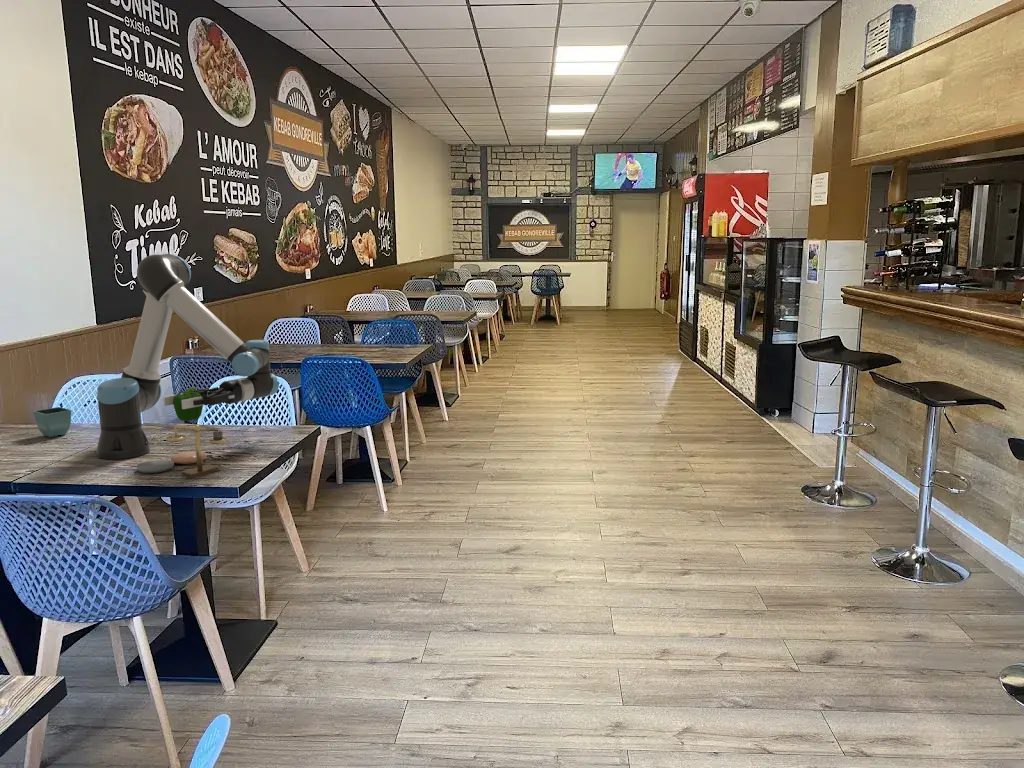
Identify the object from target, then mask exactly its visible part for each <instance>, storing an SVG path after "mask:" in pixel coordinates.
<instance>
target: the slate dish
mask: <svg viewBox="0 0 1024 768" xmlns="http://www.w3.org/2000/svg"><path fill="white" fill-rule="evenodd" d="M174 467H175V463H174V462H173V461H171V459H170V460H169V459H154V460H149V461H148V460H147V461H144V462H140V463H138V464H137V465H136V470H137V472H139V473H144V474H157V473H164V472H165V471H168V470H171V469H173V468H174Z"/></svg>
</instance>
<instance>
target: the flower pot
mask: <svg viewBox="0 0 1024 768" xmlns="http://www.w3.org/2000/svg"><path fill="white" fill-rule="evenodd" d="M33 416H34V421H35V425H36V426H37V429H38V430H39V431H40V433H41V434H42V435H43V436H45V437H49V438H54V436H55V437H59V436H58V435H61V436H64V435H63V434H65V435H66V434H67V433H68V431H69V429H70V427H71V424H72V409H69V408H65V407H59V406H57V407H51V408H45V409H39V410H33Z"/></svg>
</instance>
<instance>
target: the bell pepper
mask: <svg viewBox="0 0 1024 768" xmlns="http://www.w3.org/2000/svg"><path fill="white" fill-rule="evenodd" d="M192 390H195V391H196V390H197V387H195V386H194V387H190V388H187V390H186V391H187V393H184V394H179V393H177V394H174V395H175V397H174V399H173V409H174V411H175V414H176V416H177V418H178V419H179V420H180V421H183V422H187V421H188V422H191V421H193V420H198V419H200V418H201V416H202V412H203V407H204V404H203V405H202V406H198V407H193V408H188V409H182V401H181V400H185V399H190V398H195V397H202V396H201V395H200V393H192V394H190V391H192ZM202 399H203V398H202Z"/></svg>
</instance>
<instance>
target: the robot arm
mask: <svg viewBox="0 0 1024 768" xmlns="http://www.w3.org/2000/svg"><path fill="white" fill-rule="evenodd" d="M136 276H137V280H138V282H139V284H140V286H141V287H142V292H143V293H144V295H145V301H144V306H143V308H142V314H141V318H140V321H139V325H138V329H137V334H136V338H135V342H134V346H133V349H132V350H133V351H132V355H131V358H130V362H129V365H127V366H126V367H124V368H123V369H122V374H121V377H118V378H112V379H108V380H105V381H102V382H100V384H98V386H97V389H96V390H97V392H96V399H97V405H98V414H99V423H100V434H99V438H98V442H97V446H96V457H97V458H100V459H103V460H123V459H124V460H125V459H130V458H131V459H132V458H135V457H140V456H144V455H146V454H148V453H150V451H151V446H150V445H151V444H150V442H149V440H148V438H147V435H146V433H145V431H144V430H143V429H144V428H143V424H142V413H143V412H146V411H147V410H150V409H152V408H153V407H154V406H155V405H156V404H157V403H158V402H159V400H160V398H161V396H162V387H161V384H160V383H161V379H162V375H161V374H160V373H159V371H158V370H159V367H160V363H161V359H162V356H163V355H162V354H163V351H164V347H165V343H166V339H167V335H168V332H169V327H170V323H171V319H172V315H173V312H174V313H175V314H176V315H177V316H178V317H180V318H181V319H182V320H183V321H184V322H185V323H186V324H187V325H188V326H190V327H191V328H192V329H193V330H194V331H195V332H196V333H197V334H198V335H199V336H200V337H202V339H203V340H205V341H206V343H208V344H209V345H210V346H211V347H212V348H213V349H215V350H216V352H218V353H219V355H221V356H222V357H223V358H224V359H225V360H226V361H228V363H230V365H231V368H232V370H233V372H234V373H235V374H236V375H238V376H240V377H242V378H240V377H239V378H235V379H230V380H226V381H225V380H224V381H222V382H221V383H220V385H219V387H212V388H209V387H205V388H200V389H196V391H195V390H192V391H190V394H192V393H200V395H201V396H202V397H195V398H190V399H185V400H181V401H182V409H188V408H193V407H198V406H202V405H203V406H209V407H211V406H216V405H219V404H223V403H225V404H227V405H230V404H231V405H232V404H237V403H240V402H242V403H246V401H251V400H254V399H259V398H260V399H261V398H266V397H269V396H273V395H274V394H276V393H277V392H278V390H279V386H280V383H279V381H278V377H277V376H276V375H275V374H273V373H271V357H270V351H271V350H270V344H269V341H268V340H265V339H251V340H247V341H246V342H244V341H243V340H242V339H241V338H240V337H239V336H237V334H235V333H234V332H233V331H232V330H231V329H230V328H229V327H228V326H227V325H226V324H225V323H223V322H222V321H221V320H220V319H219V317H217V316H216V315H215V314H214V313H213V312H211V310H209V309H208V308H207V307H206V306H205V305H204V304H203V303H202V302H201V301H200V300H199V299H198V298H197V297H195V295H194V294H192V293H191V292H190V291H189V290H188V289H187V288H186V287H187V286H188V284H189V283H190V281H191V278H192V270H191V267H190V266H189V264H188V263H187V261H186V260H185V259H183V258H182V257H180V256H178V255H174V254H170V253H163V254H150V255H148V256H145V257H144V258H143V259H141V260H140V261H139V264H137V268H136ZM184 393H187V390H185V391H179V392H178V394H184ZM175 395H176V394H172V395H167V396H162V397H163V399H162V401H163V406H164V407H167V406H172V405H173V399H174V397H175ZM202 398H203V399H202ZM173 406H174V405H173Z"/></svg>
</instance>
